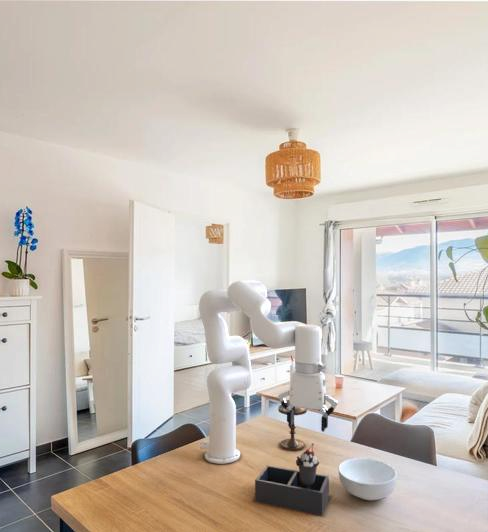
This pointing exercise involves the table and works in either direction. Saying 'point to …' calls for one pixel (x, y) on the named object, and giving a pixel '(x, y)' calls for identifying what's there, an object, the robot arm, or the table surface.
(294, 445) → the candlestick
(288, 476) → the caddy
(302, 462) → the sundae
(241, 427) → the table surface
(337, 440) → the table surface
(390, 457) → the table surface
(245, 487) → the table surface
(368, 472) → the cereal bowl
